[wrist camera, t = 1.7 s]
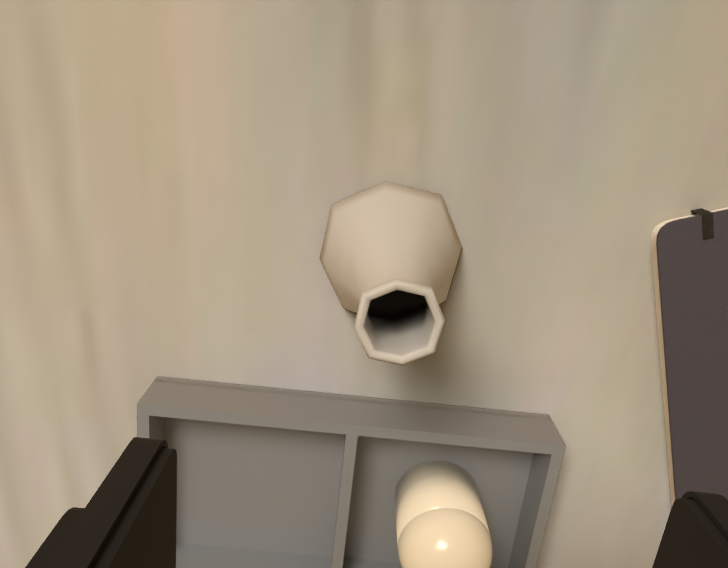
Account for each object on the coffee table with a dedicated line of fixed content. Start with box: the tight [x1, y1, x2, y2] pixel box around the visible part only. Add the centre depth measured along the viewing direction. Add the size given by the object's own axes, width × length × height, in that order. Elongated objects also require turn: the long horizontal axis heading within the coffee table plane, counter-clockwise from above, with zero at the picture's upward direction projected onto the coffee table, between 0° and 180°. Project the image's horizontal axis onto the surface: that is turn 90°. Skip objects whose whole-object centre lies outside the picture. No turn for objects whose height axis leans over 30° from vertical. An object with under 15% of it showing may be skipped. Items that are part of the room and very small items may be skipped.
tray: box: [137, 376, 566, 568], centre depth 33 cm, size 22×11×3 cm, turn 84°
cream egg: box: [395, 460, 492, 568], centre depth 31 cm, size 5×5×6 cm
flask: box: [320, 181, 462, 366], centre depth 25 cm, size 7×7×10 cm
